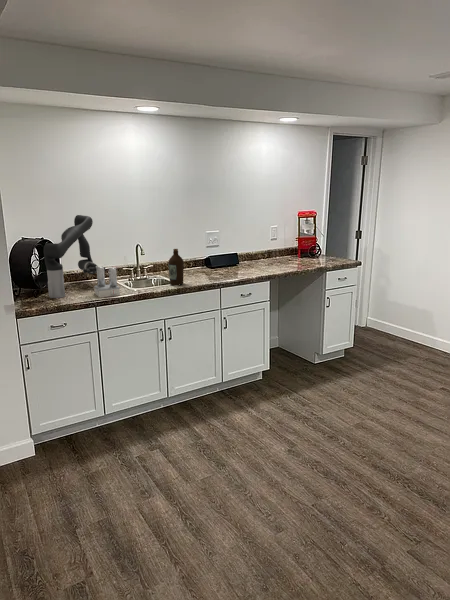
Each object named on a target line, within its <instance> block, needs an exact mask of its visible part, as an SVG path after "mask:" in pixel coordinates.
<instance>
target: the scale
mask: <svg viewBox="0 0 450 600" xmlns="http://www.w3.org/2000/svg"><path fill="white" fill-rule="evenodd" d="M93 287H94V288H93V289H94V294H95V295H96V296H97V297H98V298H104V297H116V296H120V295H121V292H120V291H121V290H120V286H118V285H117V287H115V288H111V287H110V283H109V284H105V286H104V287H98V285H94V286H93Z"/></svg>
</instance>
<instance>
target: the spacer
mask: <svg viewBox="0 0 450 600" xmlns="http://www.w3.org/2000/svg"><path fill="white" fill-rule="evenodd" d="M104 267H105V266H98V267H97V272H96V279H97V286H98V287H104V286H105V285H106V276H105V274H106V273H105V272H104Z"/></svg>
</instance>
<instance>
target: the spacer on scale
mask: <svg viewBox="0 0 450 600" xmlns="http://www.w3.org/2000/svg"><path fill="white" fill-rule="evenodd" d="M117 278H118V276H117V267H108V280H109V284H110V287H111V288H115V287H117V286H118V279H117Z"/></svg>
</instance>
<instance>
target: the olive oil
mask: <svg viewBox="0 0 450 600" xmlns="http://www.w3.org/2000/svg"><path fill="white" fill-rule="evenodd" d="M167 263H168V264H167V265H168V273H169V285H170V286H173V285H179V284H183V285H184V270H185V269H184V266H185V265H184V264H185V263H184V259H183V258H182V257H181V256H180V254H179V249H178V248H173V254H172V255H171V256H170V258H169V260H168V262H167ZM179 286H180V285H179Z"/></svg>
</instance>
